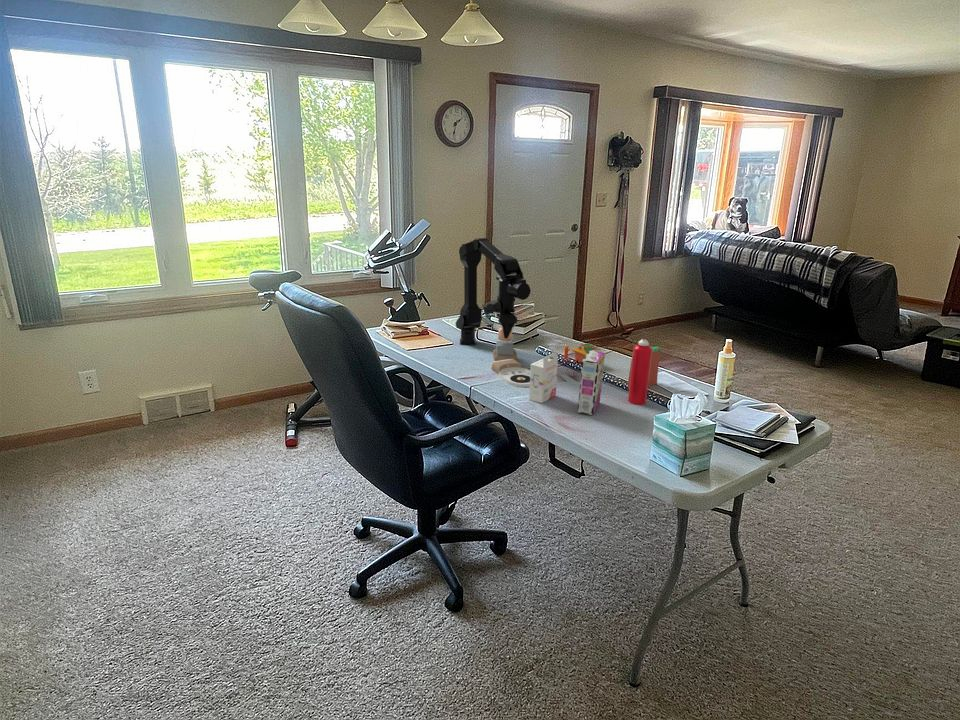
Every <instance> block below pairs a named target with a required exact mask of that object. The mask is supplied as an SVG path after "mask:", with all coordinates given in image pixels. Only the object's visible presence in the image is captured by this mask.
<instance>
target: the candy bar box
mask: <svg viewBox="0 0 960 720" xmlns="http://www.w3.org/2000/svg"><path fill="white" fill-rule="evenodd" d="M605 356H606V352H602V351H598V350H592V351H589V352H588V354H587V355H586V356H585V358H584V359H583V360H582V363H581V371H580V382H579V383H580V384H579V393H578V405H577V413H578V414H582V415H587V416H594V414H595V412H596V410H597V408H598V406H599V404H600V403H601V395H602V394H601V392H602V384H603V374H604V365H605Z"/></svg>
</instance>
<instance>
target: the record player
mask: <svg viewBox="0 0 960 720" xmlns="http://www.w3.org/2000/svg"><path fill="white" fill-rule="evenodd" d="M490 369H491V370H492V371H493V372H495V373H496V374H498V378H499V379H501V381H503V382H504V383H506V384H508V385H510V386H512V387H513V386H514V387H518V388H530V369H527V368H524V367H523V364H522V363H521V362H518V360H517V361H516V360H514V359H507V360H500V361H494V360H492V362H491V363H490Z"/></svg>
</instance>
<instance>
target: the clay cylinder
mask: <svg viewBox="0 0 960 720" xmlns="http://www.w3.org/2000/svg"><path fill="white" fill-rule="evenodd" d="M497 339H498V341H513V329H512V330H511V332H510V334H509V336H508V338H507V339H505V338H504V333H503V327H502V326H500V327H498V333H497Z"/></svg>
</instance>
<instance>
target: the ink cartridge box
mask: <svg viewBox="0 0 960 720" xmlns="http://www.w3.org/2000/svg"><path fill="white" fill-rule="evenodd" d="M558 362H559V361H558V351H554V352H552V353H551V354H548V355H546V356H544V357H543V358H541V359H540V360H537V361H535V362H532V363H531V364H530V369H529V370H530V387H529V398H528V399H529V400H530V401H532V402H533V401H534V402H537V403H540V404H543V403H545V402H547V401H548V400H551V399H552V398H553V397H555V396H556V395H557V383H558V382H557V380H558V366H559V365H558V364H559V363H558Z"/></svg>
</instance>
